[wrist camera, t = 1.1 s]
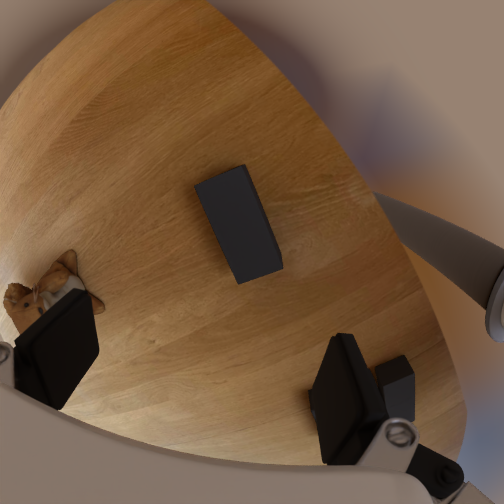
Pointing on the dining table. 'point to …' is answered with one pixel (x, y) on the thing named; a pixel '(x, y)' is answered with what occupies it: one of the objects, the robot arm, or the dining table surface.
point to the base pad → (393, 388)
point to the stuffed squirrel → (45, 292)
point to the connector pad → (240, 224)
